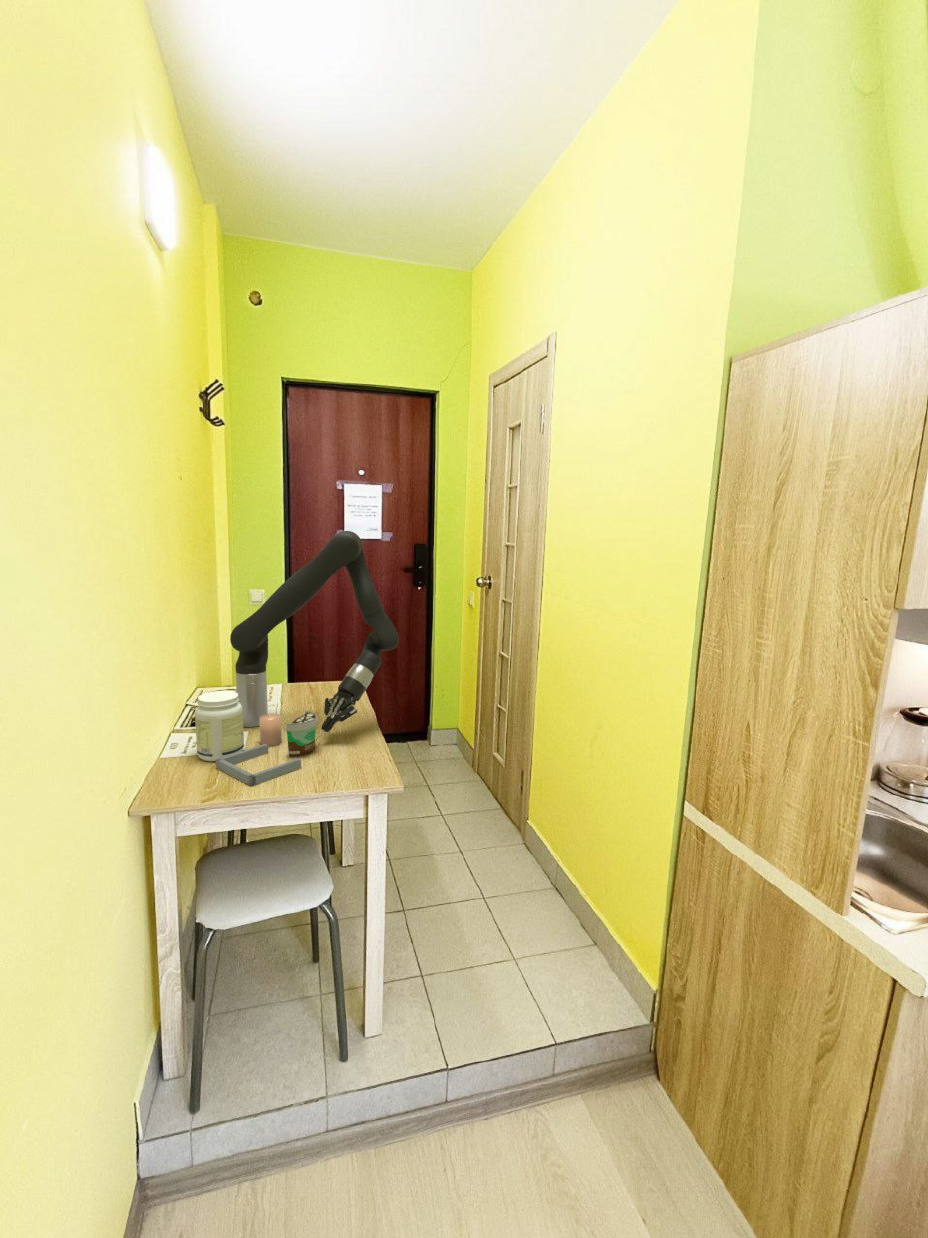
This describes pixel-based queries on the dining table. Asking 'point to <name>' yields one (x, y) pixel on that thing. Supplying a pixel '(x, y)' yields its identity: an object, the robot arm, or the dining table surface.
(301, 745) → the food container
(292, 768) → the frame
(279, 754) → the dining table surface
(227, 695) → the supplement tub
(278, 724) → the peach rounded cylinder
